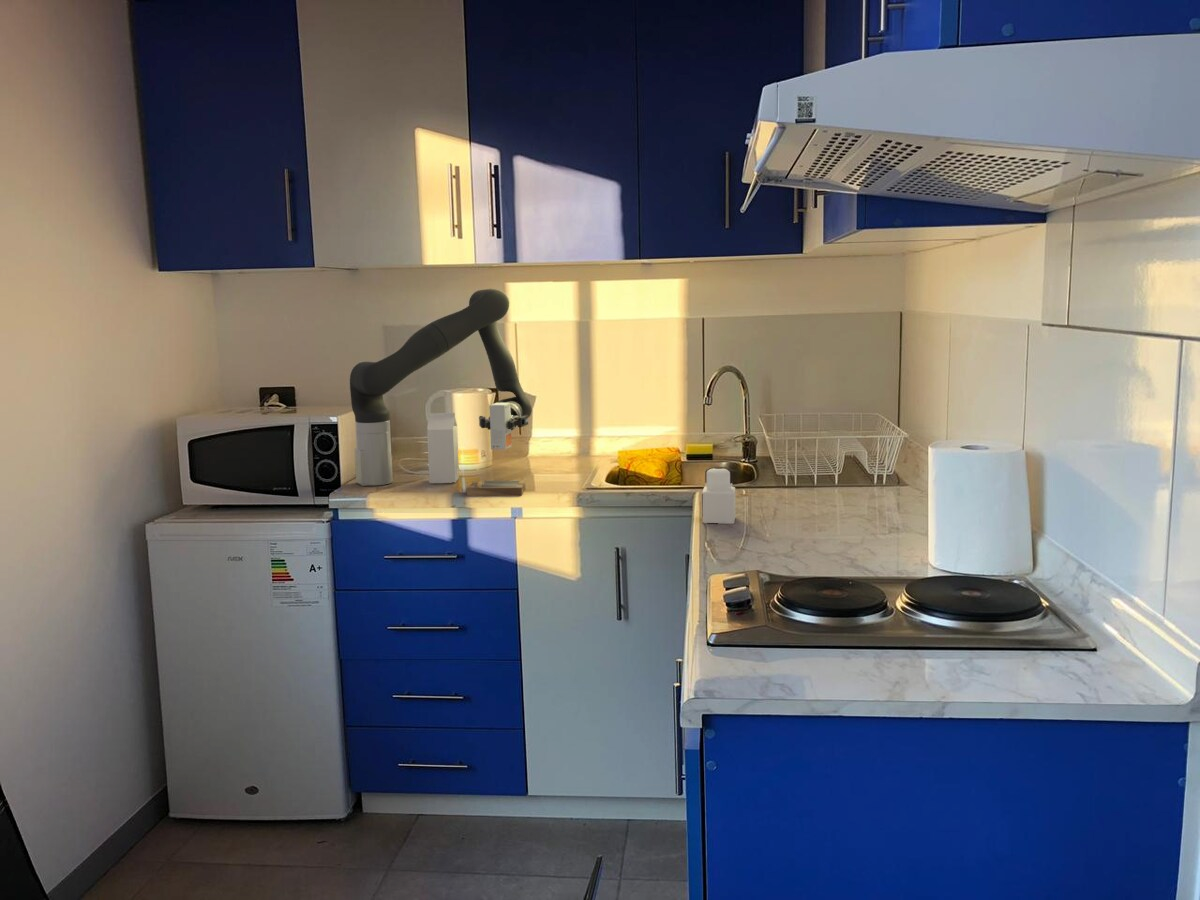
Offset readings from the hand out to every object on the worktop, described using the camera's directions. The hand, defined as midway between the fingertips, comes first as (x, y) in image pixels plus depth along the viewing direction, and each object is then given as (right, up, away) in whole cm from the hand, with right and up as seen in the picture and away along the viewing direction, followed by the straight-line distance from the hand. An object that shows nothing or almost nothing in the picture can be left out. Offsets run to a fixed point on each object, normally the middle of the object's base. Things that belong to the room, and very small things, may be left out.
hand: (499, 425), depth 278 cm
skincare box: (0, -6, +4) cm, 7 cm away
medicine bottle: (+53, -23, -42) cm, 72 cm away
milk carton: (-16, -15, +11) cm, 25 cm away
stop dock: (0, -17, -1) cm, 17 cm away
